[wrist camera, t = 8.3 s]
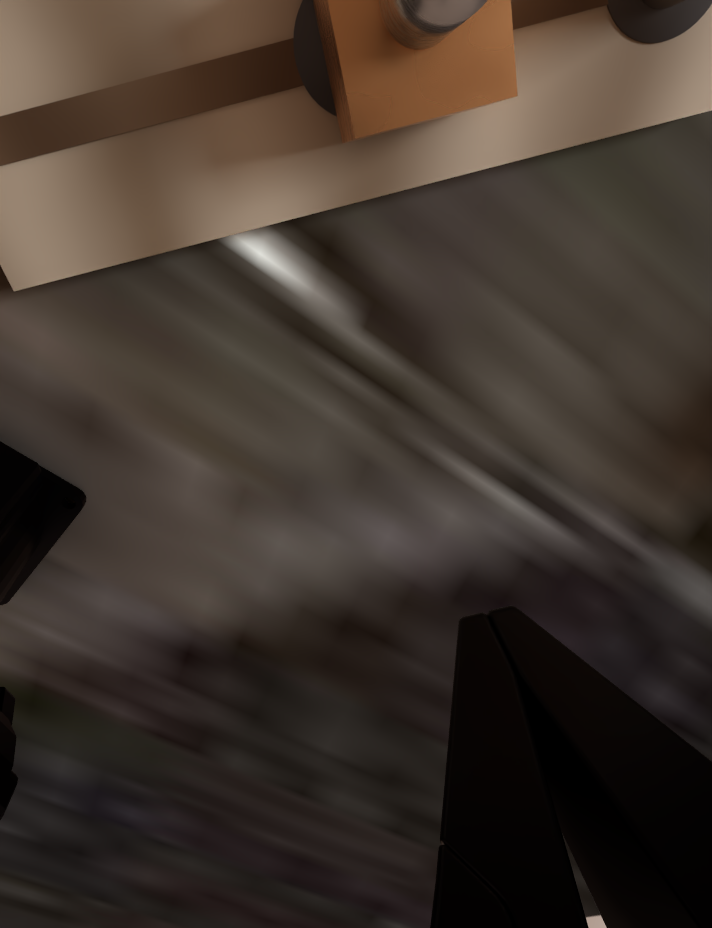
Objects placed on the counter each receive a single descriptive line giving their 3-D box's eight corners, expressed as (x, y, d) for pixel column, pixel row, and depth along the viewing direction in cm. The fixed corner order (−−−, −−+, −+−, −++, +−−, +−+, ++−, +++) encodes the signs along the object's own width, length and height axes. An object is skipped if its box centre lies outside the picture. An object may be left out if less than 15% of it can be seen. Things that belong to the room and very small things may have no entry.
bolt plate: (34, 281, 18) (-138, 361, 11) (-103, 3, 14) (-492, -152, 7) (696, 109, 17) (978, 73, 10) (716, -221, 14) (1159, -623, 7)
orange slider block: (342, 143, 15) (368, 133, 10) (301, -52, 13) (307, -197, 8) (471, 110, 15) (568, 80, 10) (449, -91, 13) (557, -267, 8)
